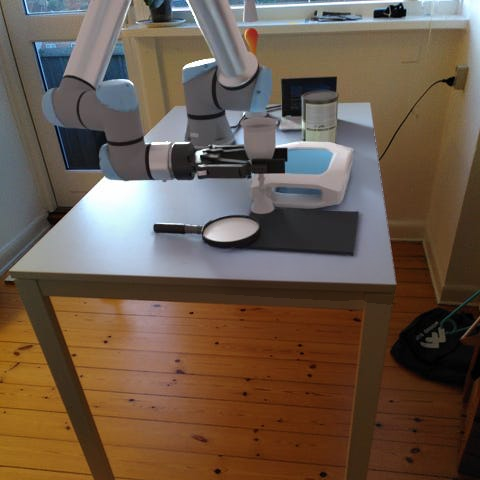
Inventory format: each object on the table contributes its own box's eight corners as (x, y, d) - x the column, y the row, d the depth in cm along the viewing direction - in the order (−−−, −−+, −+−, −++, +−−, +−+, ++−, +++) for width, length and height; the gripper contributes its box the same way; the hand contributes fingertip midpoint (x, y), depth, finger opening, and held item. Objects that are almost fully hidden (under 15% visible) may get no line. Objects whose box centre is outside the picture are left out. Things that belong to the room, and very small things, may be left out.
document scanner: (352, 165, 137) (354, 141, 133) (339, 211, 116) (341, 184, 112) (275, 162, 142) (274, 140, 139) (249, 206, 121) (248, 180, 117)
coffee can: (294, 145, 153) (293, 95, 144) (320, 137, 157) (322, 88, 148) (316, 154, 145) (317, 102, 137) (344, 145, 150) (346, 94, 141)
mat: (253, 210, 119) (252, 207, 119) (358, 214, 114) (358, 211, 113) (234, 248, 106) (234, 245, 105) (353, 255, 100) (353, 252, 100)
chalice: (282, 202, 112) (281, 117, 101) (275, 216, 107) (273, 128, 96) (250, 201, 114) (245, 116, 103) (241, 214, 109) (236, 127, 98)
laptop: (278, 131, 164) (277, 87, 156) (281, 119, 174) (280, 78, 166) (335, 130, 161) (337, 85, 154) (335, 118, 171) (337, 75, 163)
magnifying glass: (167, 219, 119) (165, 210, 117) (267, 223, 111) (266, 214, 110) (144, 245, 109) (141, 236, 108) (251, 251, 102) (250, 242, 101)
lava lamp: (244, 111, 185) (237, -3, 164) (269, 110, 183) (265, -5, 162) (240, 118, 178) (232, 0, 157) (266, 118, 176) (261, -1, 155)
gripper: (187, 162, 116) (289, 161, 113) (165, 197, 102) (282, 197, 98) (183, 129, 112) (289, 126, 108) (159, 160, 97) (281, 158, 93)
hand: (286, 160), depth 103 cm, fingers closed on chalice, 6 cm apart
